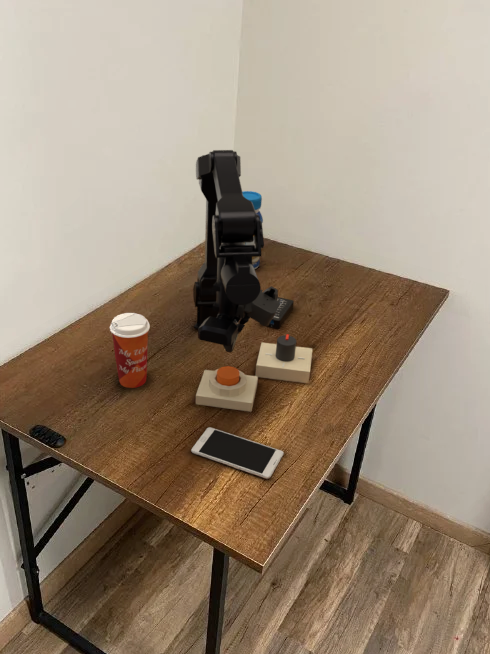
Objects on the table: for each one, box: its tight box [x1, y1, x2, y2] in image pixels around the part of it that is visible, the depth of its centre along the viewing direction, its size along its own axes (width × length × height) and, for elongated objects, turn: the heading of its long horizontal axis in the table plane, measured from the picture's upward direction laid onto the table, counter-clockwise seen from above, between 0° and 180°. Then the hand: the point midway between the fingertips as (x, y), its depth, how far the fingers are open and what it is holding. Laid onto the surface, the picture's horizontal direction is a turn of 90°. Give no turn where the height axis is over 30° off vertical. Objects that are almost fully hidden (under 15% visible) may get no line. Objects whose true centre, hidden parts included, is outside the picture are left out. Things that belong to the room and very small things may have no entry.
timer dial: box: [276, 333, 297, 362], centre depth 131 cm, size 4×4×4 cm
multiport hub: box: [267, 296, 295, 330], centre depth 151 cm, size 4×11×2 cm, turn 155°
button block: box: [195, 368, 259, 413], centre depth 125 cm, size 11×9×4 cm
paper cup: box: [109, 312, 151, 389], centre depth 125 cm, size 8×8×14 cm
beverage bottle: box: [242, 190, 264, 270], centre depth 169 cm, size 8×8×20 cm
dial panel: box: [254, 342, 313, 384], centre depth 133 cm, size 11×9×3 cm
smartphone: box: [190, 426, 285, 480], centre depth 111 cm, size 8×1×15 cm
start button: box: [216, 365, 240, 386], centre depth 123 cm, size 4×4×2 cm
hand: (229, 351), depth 120 cm, fingers closed
